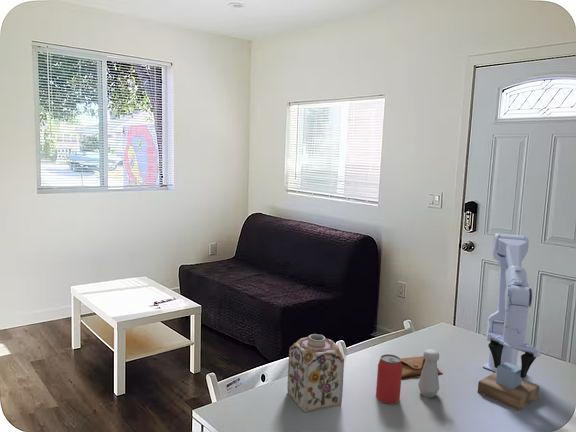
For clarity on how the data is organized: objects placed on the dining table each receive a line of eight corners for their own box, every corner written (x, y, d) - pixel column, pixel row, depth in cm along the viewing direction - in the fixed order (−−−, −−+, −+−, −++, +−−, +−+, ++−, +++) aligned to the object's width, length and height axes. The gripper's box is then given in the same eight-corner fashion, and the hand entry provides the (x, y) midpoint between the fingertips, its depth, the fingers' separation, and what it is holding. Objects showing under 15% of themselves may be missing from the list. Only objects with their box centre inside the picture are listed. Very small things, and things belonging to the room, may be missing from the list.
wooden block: (497, 382, 149) (498, 370, 149) (537, 398, 140) (539, 385, 139) (477, 393, 141) (478, 381, 141) (518, 411, 132) (519, 398, 132)
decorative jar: (286, 392, 137) (288, 331, 134) (322, 385, 141) (325, 326, 139) (304, 414, 126) (307, 348, 124) (343, 406, 131) (346, 342, 128)
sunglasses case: (395, 381, 146) (390, 358, 148) (384, 382, 152) (380, 361, 155) (445, 373, 152) (439, 352, 155) (432, 376, 158) (427, 355, 161)
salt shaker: (439, 400, 136) (443, 356, 134) (418, 397, 137) (422, 353, 135) (437, 390, 142) (441, 348, 140) (417, 387, 143) (420, 345, 141)
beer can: (385, 407, 131) (388, 365, 129) (370, 395, 137) (373, 355, 135) (404, 402, 134) (407, 361, 132) (389, 391, 140) (392, 351, 138)
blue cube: (504, 377, 144) (505, 361, 143) (521, 384, 140) (522, 368, 139) (495, 382, 140) (497, 366, 140) (512, 389, 137) (514, 372, 136)
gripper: (483, 321, 141) (479, 366, 143) (534, 338, 130) (529, 385, 132) (495, 317, 145) (491, 360, 147) (546, 332, 134) (540, 378, 136)
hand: (509, 371), depth 140 cm, fingers open, 7 cm apart
